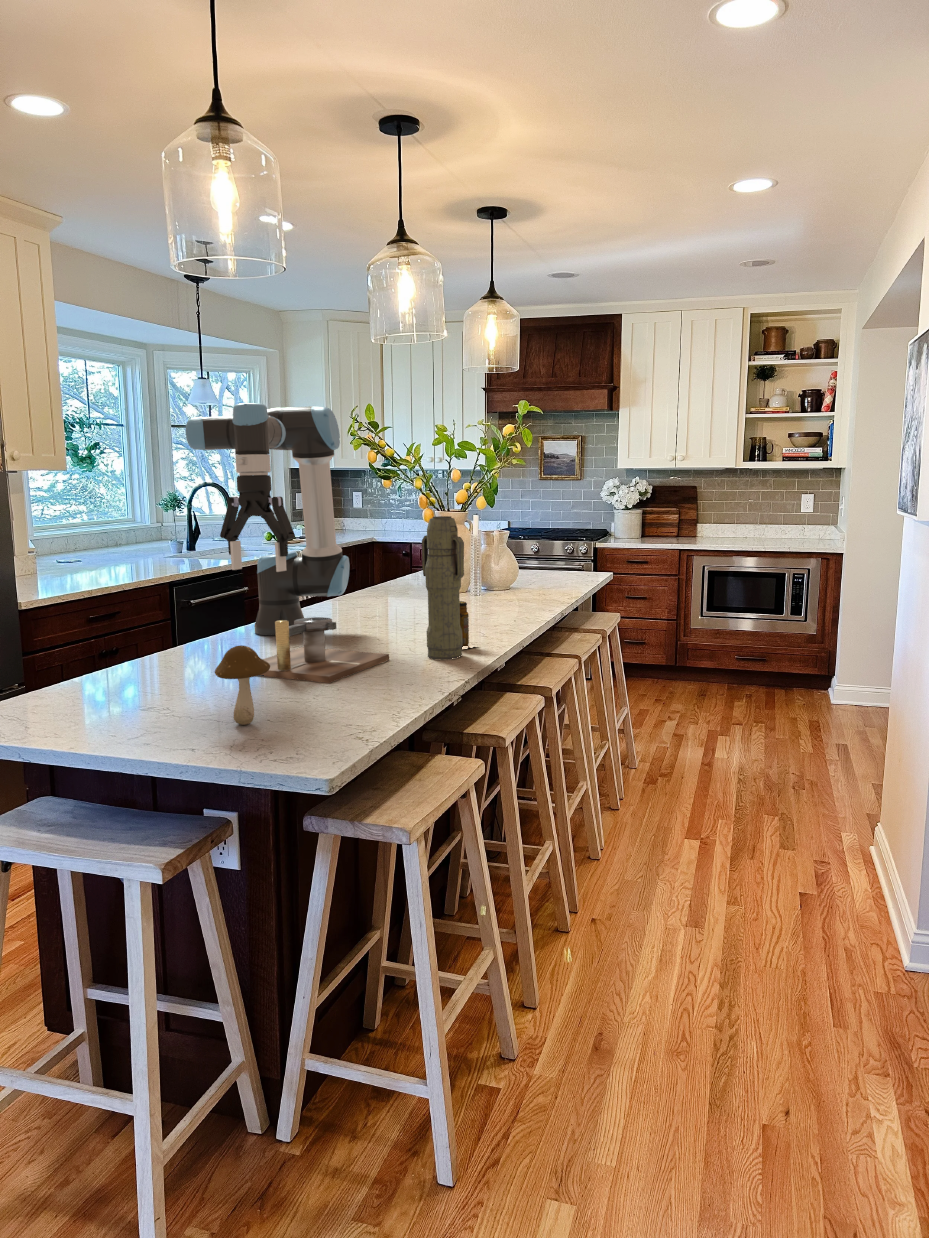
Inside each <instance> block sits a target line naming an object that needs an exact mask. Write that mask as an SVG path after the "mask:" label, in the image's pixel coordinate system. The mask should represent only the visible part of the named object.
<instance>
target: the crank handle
mask: <svg viewBox="0 0 929 1238" xmlns="http://www.w3.org/2000/svg"><path fill="white" fill-rule="evenodd" d="M275 629H276V635H275V640H276V641H275V644H276V655H277V666H278V670H288V669H291V659H290V651H291V643H290V642H291V641H290V637H291V636H295V635H300V634H302V633H303V632H319V631H324V632H325V631H334V630H337V622H336V621H333V619H332V618H330V617H325V616H324V617H322V616H321V617H320V616H319V617H318V616H317V617H316V616H315V617H304V618H302V619H297V620H295V621H294V625H291V626H289V621H287V620H279V621H275Z"/></svg>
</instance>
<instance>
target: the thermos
mask: <svg viewBox="0 0 929 1238" xmlns="http://www.w3.org/2000/svg"><path fill="white" fill-rule="evenodd" d="M458 529H459V528H458V526H457V523H456V520H455V517H452V516H448V515H447V516H446V515H445V516H444V515H443V516H441V515H439V516H432V518H429V520H428V525H427V527H426V535H424V536H423V537H422V540H421V557H422V558H421V559H422V560H421V561H422V562H421V565H422V575H423V577H425V588H426V590H427V614H428V618H427V620H428V626H427V628H426V648H427V657H429V658H428V659H430V658H432V659H431V660H435V659H452V658H457V657H459V656H461V655H462V656H463V650H462V646H463V644H462V629H461V626H460V599H461V598H460V590H461V588H462V578H463V577H464V576H465V568H464V567H465V541H464V539H463V538H462V536H459V532H458V531H459V530H458ZM452 660H453V659H452Z"/></svg>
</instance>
